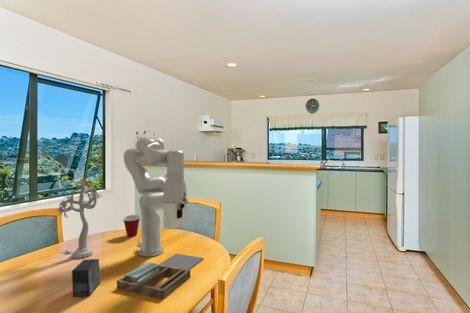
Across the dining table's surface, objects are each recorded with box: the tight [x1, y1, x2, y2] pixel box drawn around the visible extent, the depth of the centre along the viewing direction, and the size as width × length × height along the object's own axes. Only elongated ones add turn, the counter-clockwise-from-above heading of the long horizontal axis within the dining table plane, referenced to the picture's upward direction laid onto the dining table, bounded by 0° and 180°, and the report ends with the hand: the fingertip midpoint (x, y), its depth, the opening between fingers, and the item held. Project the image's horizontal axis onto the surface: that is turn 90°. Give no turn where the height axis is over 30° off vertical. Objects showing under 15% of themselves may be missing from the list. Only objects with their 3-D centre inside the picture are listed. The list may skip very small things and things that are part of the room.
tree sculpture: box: [57, 177, 103, 259], centre depth 149 cm, size 28×24×40 cm
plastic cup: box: [121, 214, 141, 238], centre depth 181 cm, size 11×11×12 cm
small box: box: [71, 258, 101, 298], centre depth 112 cm, size 11×6×10 cm, turn 5°
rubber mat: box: [158, 253, 204, 271], centre depth 138 cm, size 16×16×1 cm
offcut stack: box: [124, 261, 160, 284], centre depth 121 cm, size 7×14×4 cm, turn 158°
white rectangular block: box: [162, 202, 187, 230], centre depth 132 cm, size 4×12×11 cm, turn 156°
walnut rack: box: [116, 265, 191, 300], centre depth 119 cm, size 22×19×3 cm
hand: (175, 216), depth 132 cm, fingers closed on white rectangular block, 4 cm apart
